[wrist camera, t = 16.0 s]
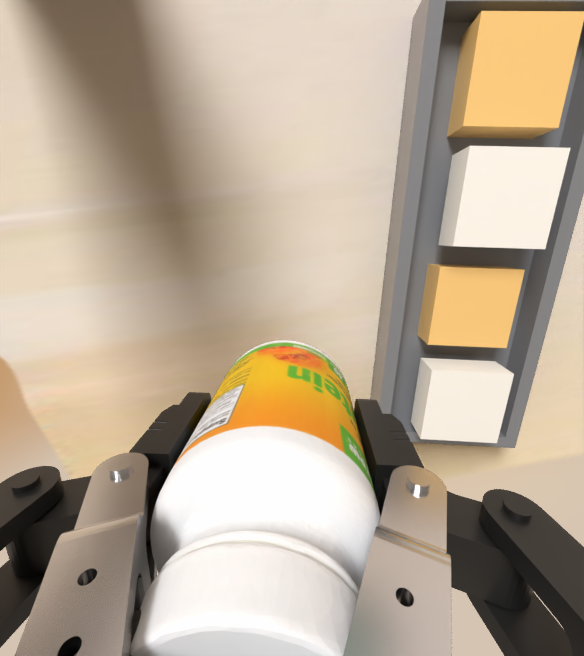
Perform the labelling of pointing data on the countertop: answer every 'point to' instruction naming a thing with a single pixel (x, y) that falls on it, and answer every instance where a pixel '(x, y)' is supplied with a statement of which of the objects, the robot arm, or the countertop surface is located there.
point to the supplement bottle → (263, 517)
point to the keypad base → (427, 212)
